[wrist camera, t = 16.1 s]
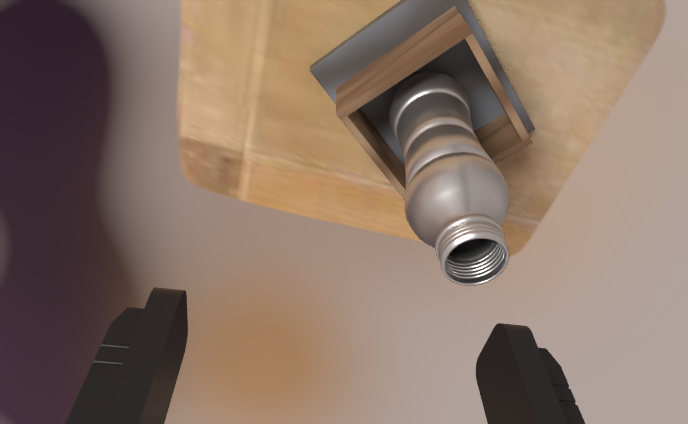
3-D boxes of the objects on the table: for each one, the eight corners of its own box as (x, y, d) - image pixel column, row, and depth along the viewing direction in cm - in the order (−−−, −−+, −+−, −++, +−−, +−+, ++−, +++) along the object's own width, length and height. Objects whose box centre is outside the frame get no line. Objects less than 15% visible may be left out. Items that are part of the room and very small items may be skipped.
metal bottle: (478, 81, 41) (565, 237, 25) (436, 145, 45) (488, 316, 29) (411, 49, 39) (459, 194, 24) (373, 119, 43) (392, 284, 27)
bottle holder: (310, 65, 41) (307, 96, 36) (447, -34, 37) (464, -13, 32) (408, 191, 49) (416, 230, 45) (530, 122, 45) (554, 158, 40)
